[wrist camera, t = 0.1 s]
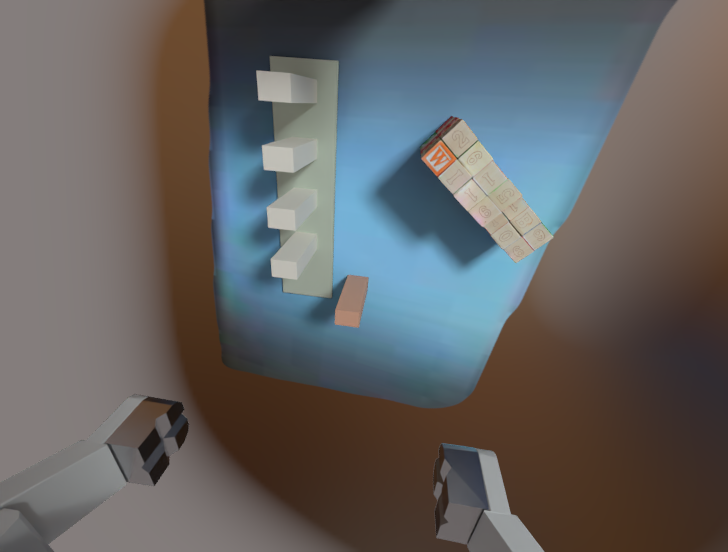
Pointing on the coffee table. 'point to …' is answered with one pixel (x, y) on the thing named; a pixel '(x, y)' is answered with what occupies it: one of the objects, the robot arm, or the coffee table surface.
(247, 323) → the coffee table surface
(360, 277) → the domino
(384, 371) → the coffee table surface
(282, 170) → the domino
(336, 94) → the mat
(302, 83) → the domino
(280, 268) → the domino
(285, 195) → the domino
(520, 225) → the stack of blocks
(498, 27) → the coffee table surface
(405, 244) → the coffee table surface
